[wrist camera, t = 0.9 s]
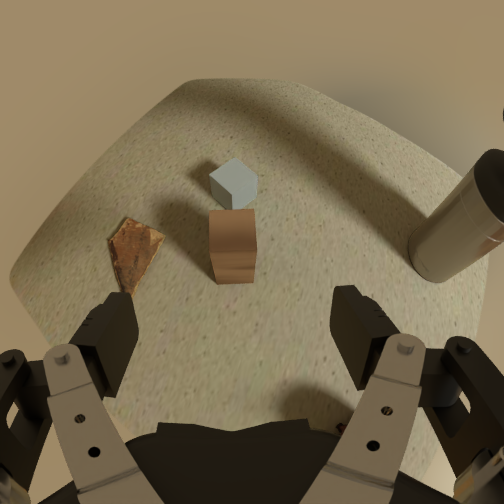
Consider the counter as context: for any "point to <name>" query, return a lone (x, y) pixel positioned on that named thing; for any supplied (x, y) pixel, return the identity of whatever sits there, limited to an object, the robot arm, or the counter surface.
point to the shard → (133, 253)
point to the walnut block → (233, 245)
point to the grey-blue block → (233, 184)
